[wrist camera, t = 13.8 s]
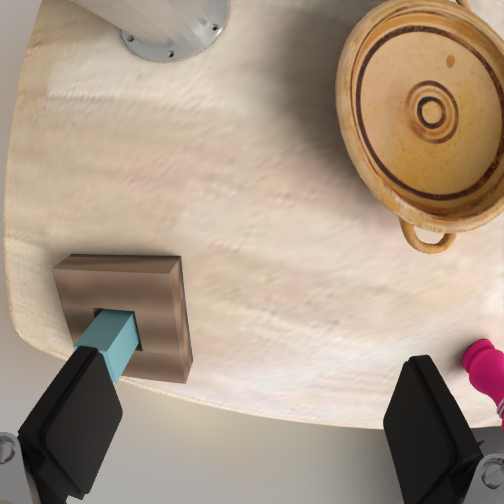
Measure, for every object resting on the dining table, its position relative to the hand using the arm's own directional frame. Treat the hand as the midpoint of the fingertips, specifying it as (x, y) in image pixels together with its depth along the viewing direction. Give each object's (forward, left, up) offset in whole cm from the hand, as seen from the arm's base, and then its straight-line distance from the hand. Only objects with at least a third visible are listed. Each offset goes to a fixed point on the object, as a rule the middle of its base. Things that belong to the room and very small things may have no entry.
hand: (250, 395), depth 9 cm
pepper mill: (+24, +36, -28) cm, 52 cm away
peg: (+15, -18, -27) cm, 36 cm away
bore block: (+15, -18, -28) cm, 37 cm away
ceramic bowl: (-11, +18, -29) cm, 36 cm away
